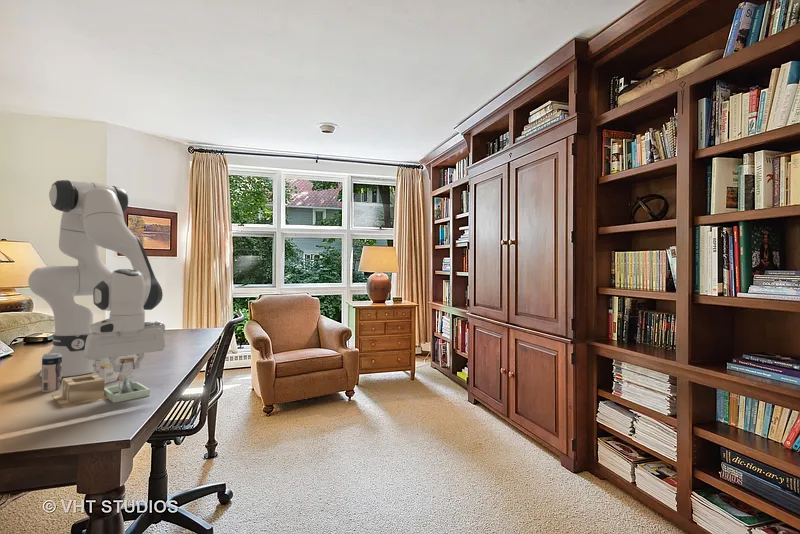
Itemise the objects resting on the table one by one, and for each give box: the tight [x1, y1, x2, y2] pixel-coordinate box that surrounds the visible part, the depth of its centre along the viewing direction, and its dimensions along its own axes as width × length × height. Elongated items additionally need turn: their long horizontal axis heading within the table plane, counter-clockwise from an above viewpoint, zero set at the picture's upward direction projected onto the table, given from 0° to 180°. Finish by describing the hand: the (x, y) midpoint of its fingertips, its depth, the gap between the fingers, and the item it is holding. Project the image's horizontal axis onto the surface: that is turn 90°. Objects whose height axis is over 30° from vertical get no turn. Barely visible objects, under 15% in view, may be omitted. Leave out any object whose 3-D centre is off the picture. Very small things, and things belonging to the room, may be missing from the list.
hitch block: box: [51, 373, 109, 409], centre depth 122 cm, size 16×12×6 cm
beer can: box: [41, 353, 63, 393], centre depth 128 cm, size 5×5×12 cm
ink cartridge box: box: [92, 355, 127, 385], centre depth 139 cm, size 9×5×15 cm, turn 168°
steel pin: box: [118, 356, 135, 395], centre depth 124 cm, size 4×4×10 cm
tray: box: [104, 381, 151, 403], centre depth 124 cm, size 11×9×3 cm
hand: (126, 370), depth 124 cm, fingers closed on steel pin, 3 cm apart
